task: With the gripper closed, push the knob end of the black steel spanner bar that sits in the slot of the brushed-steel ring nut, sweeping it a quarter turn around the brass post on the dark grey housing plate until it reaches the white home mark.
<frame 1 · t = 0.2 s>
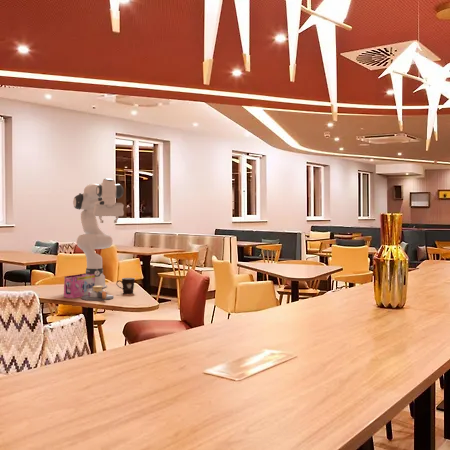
hand: (108, 222, 380), 48 cm above the table, tool pointing down, fingers open, 8 cm apart
gum box: (79, 295, 371), on the table
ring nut: (99, 293, 357), point 4 cm above the table, hinge at 0.0°
coffee mug: (126, 293, 384), on the table
cap housing: (97, 298, 361), on the table
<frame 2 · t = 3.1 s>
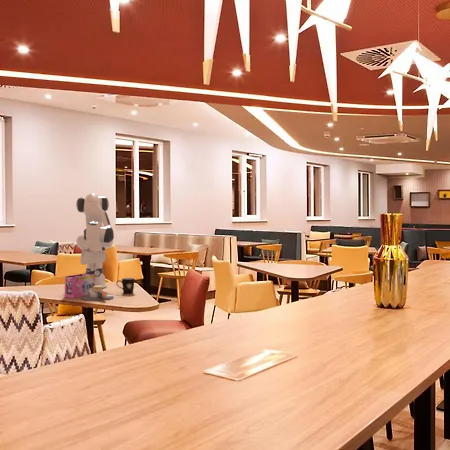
hand: (93, 270, 347), 19 cm above the table, tool pointing down, fingers closed
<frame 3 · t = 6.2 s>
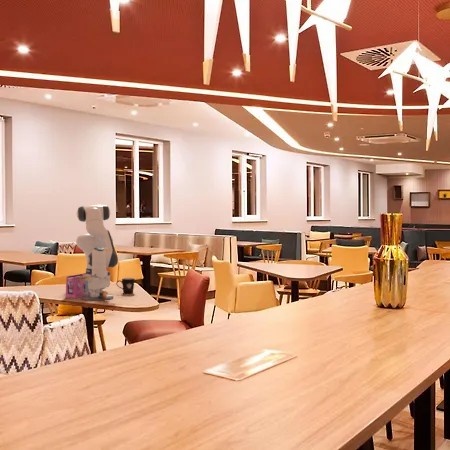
hand: (98, 295, 350), 3 cm above the table, tool pointing down, fingers closed
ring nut: (100, 293, 357), point 4 cm above the table, hinge at 1.9°, touching gripper
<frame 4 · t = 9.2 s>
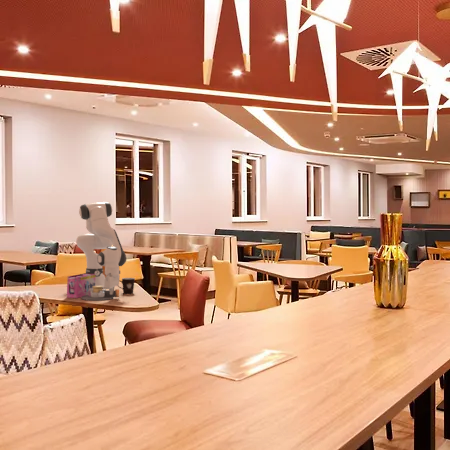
hand: (111, 294, 356), 3 cm above the table, tool pointing down, fingers closed
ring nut: (104, 292, 360), point 4 cm above the table, hinge at 51.0°, touching gripper
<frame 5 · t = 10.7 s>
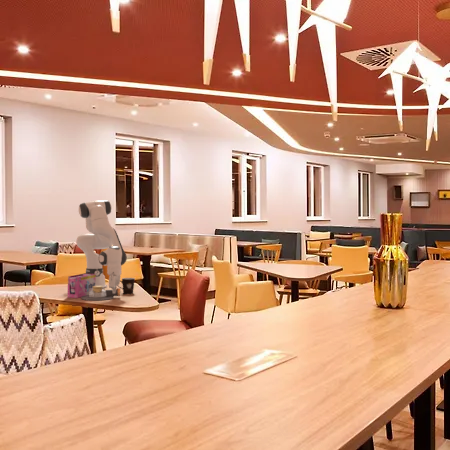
hand: (114, 293, 360), 3 cm above the table, tool pointing down, fingers closed
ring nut: (104, 292, 362), point 4 cm above the table, hinge at 72.6°, touching gripper
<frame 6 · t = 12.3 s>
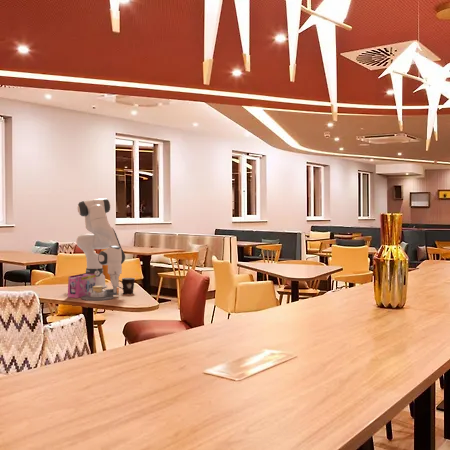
hand: (114, 292, 364), 3 cm above the table, tool pointing down, fingers closed
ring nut: (104, 292, 363), point 4 cm above the table, hinge at 92.8°, touching gripper
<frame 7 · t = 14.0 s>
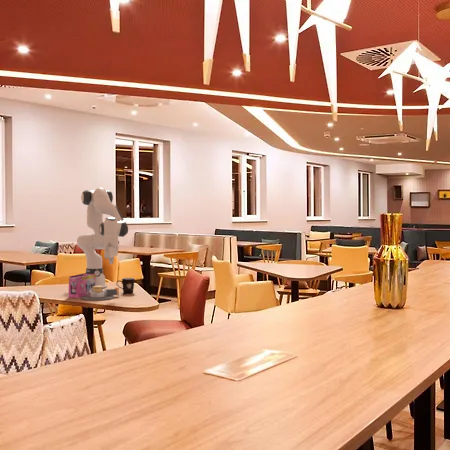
hand: (111, 264, 363), 22 cm above the table, tool pointing down, fingers closed
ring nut: (104, 292, 363), point 4 cm above the table, hinge at 92.8°
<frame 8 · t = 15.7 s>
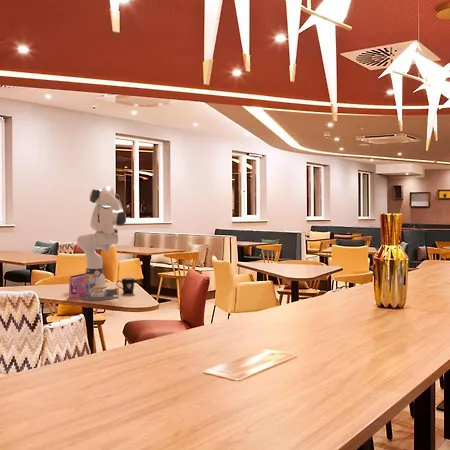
hand: (105, 251, 371), 29 cm above the table, tool pointing down, fingers closed
at the end: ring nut at +93° (first picture: +0°) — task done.
